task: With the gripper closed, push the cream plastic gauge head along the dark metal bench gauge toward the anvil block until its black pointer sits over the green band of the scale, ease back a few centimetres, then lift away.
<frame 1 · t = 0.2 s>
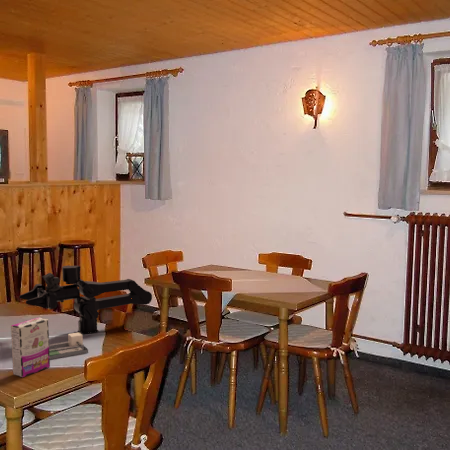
hand: (22, 299, 203), 16 cm above the table, tool horizontal, fingers open, 9 cm apart
candy bar box: (31, 371, 176), on the table
gauge head: (77, 341, 196), point 3 cm above the table, slide at 0.0 cm
bench gauge: (56, 352, 194), on the table
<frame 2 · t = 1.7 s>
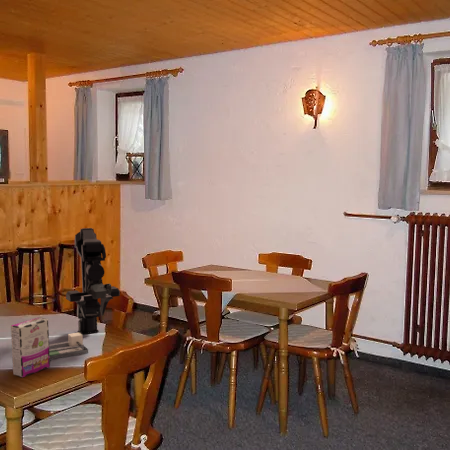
hand: (93, 316, 201), 11 cm above the table, tool pointing down, fingers open, 6 cm apart
nothing on the table moved.
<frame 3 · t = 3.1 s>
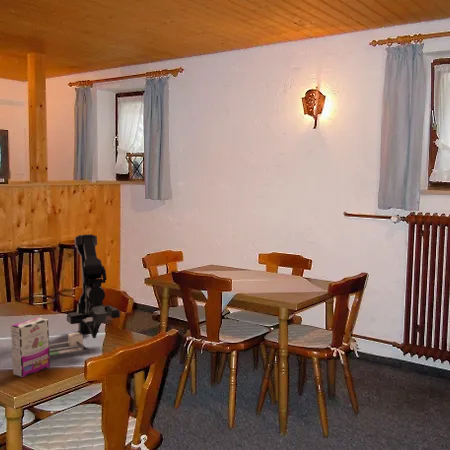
hand: (94, 337, 202), 3 cm above the table, tool pointing down, fingers closed
nothing on the table moved.
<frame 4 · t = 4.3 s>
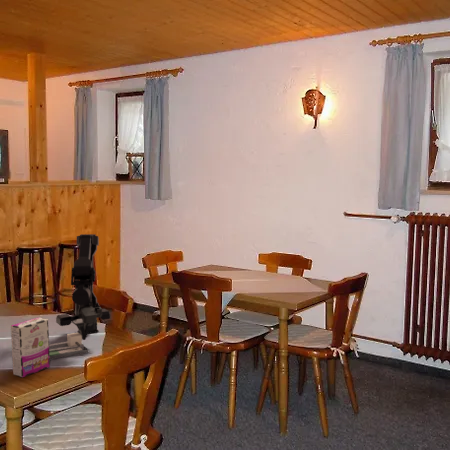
hand: (84, 339, 200), 3 cm above the table, tool pointing down, fingers closed
gauge head: (76, 341, 196), point 3 cm above the table, slide at 0.4 cm, touching gripper
everything else where it was.
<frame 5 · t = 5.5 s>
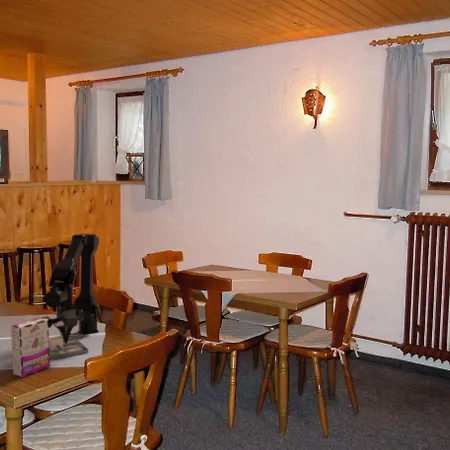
hand: (65, 342, 196), 3 cm above the table, tool pointing down, fingers closed
gauge head: (57, 344, 192), point 3 cm above the table, slide at 7.2 cm, touching gripper
everything else where it was.
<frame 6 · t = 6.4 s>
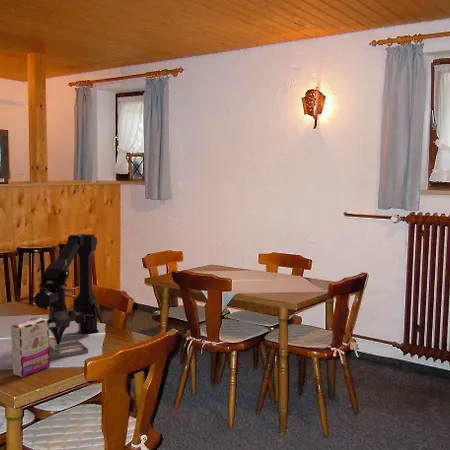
hand: (58, 344, 194), 3 cm above the table, tool pointing down, fingers closed
gauge head: (49, 345, 191), point 3 cm above the table, slide at 9.9 cm, touching gripper
everything else where it was.
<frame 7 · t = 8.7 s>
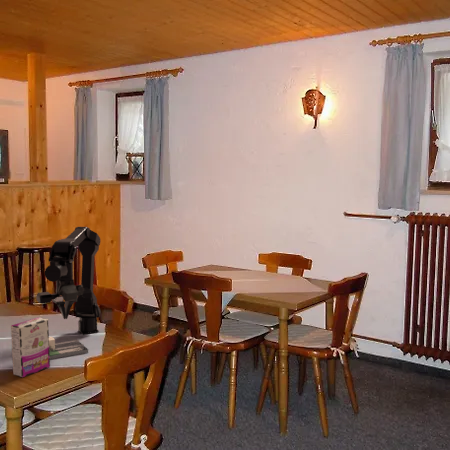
hand: (65, 318, 195), 12 cm above the table, tool pointing down, fingers closed
gauge head: (49, 345, 191), point 3 cm above the table, slide at 10.0 cm
everything else where it was.
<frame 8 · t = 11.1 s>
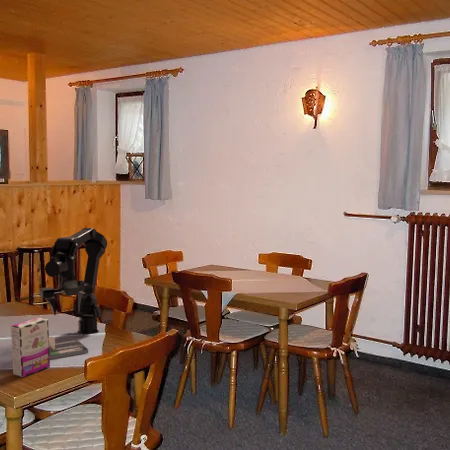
hand: (67, 313, 201), 12 cm above the table, tool pointing down, fingers open, 9 cm apart
nothing on the table moved.
at the end: gauge head slide at 10.0 cm; gauge head moved 10.0 cm from its start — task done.
